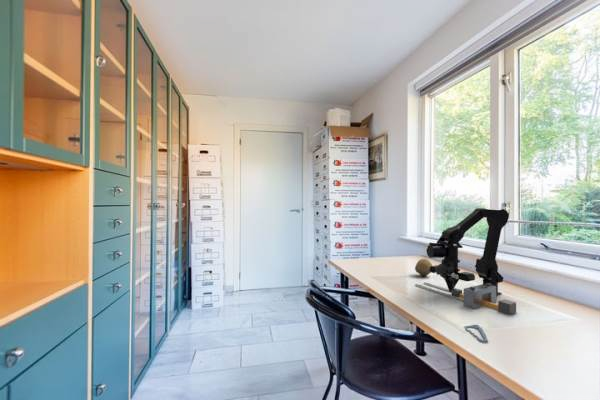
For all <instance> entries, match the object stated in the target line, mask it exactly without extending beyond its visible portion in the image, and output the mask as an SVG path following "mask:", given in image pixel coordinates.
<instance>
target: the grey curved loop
mask: <svg viewBox="0 0 600 400" xmlns="http://www.w3.org/2000/svg"><path fill="white" fill-rule="evenodd" d="M470 328H471V329H475V330H478V331H479V333H480V335H481V336H482V338H483V339H481V337H479V336H478V335H477V334H475V332H472V330H471V329H470ZM464 329H465V332H469V333H470V335H472V336H473V337H474V338H476V339H477V341H478V342H480V343H483V344H485V343H489V340H488V337H487V334H486V333H485V332H484V330H483V327H481V326H480V325H478V324H472V325H471V324H470V325H465V326H464Z"/></svg>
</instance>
